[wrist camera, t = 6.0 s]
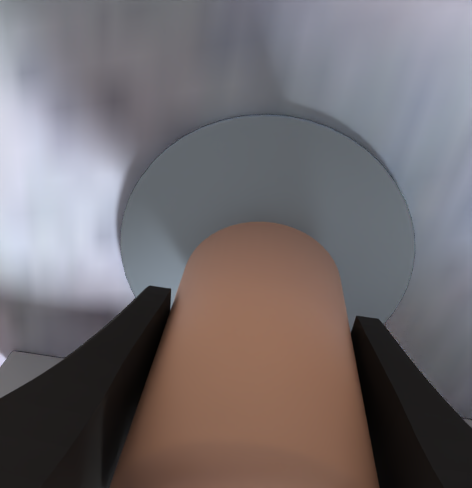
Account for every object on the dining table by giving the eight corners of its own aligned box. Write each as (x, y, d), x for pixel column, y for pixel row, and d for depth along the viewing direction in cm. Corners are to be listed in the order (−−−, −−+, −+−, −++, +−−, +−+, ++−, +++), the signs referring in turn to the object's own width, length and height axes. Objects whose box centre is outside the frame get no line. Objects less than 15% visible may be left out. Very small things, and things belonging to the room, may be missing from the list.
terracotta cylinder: (359, 235, 12) (429, 470, 6) (321, 358, 15) (346, 607, 9) (187, 210, 13) (99, 418, 7) (179, 336, 15) (111, 567, 9)
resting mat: (456, 138, 13) (462, 142, 12) (367, 379, 18) (369, 387, 17) (120, 93, 13) (116, 96, 13) (126, 343, 18) (123, 350, 18)
